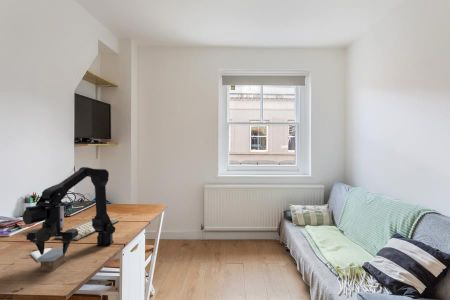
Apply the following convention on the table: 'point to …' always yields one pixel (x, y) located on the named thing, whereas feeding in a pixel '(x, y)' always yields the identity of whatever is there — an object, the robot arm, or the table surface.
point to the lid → (51, 255)
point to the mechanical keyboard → (85, 229)
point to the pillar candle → (62, 216)
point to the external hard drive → (37, 254)
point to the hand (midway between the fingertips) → (53, 254)
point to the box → (52, 264)
